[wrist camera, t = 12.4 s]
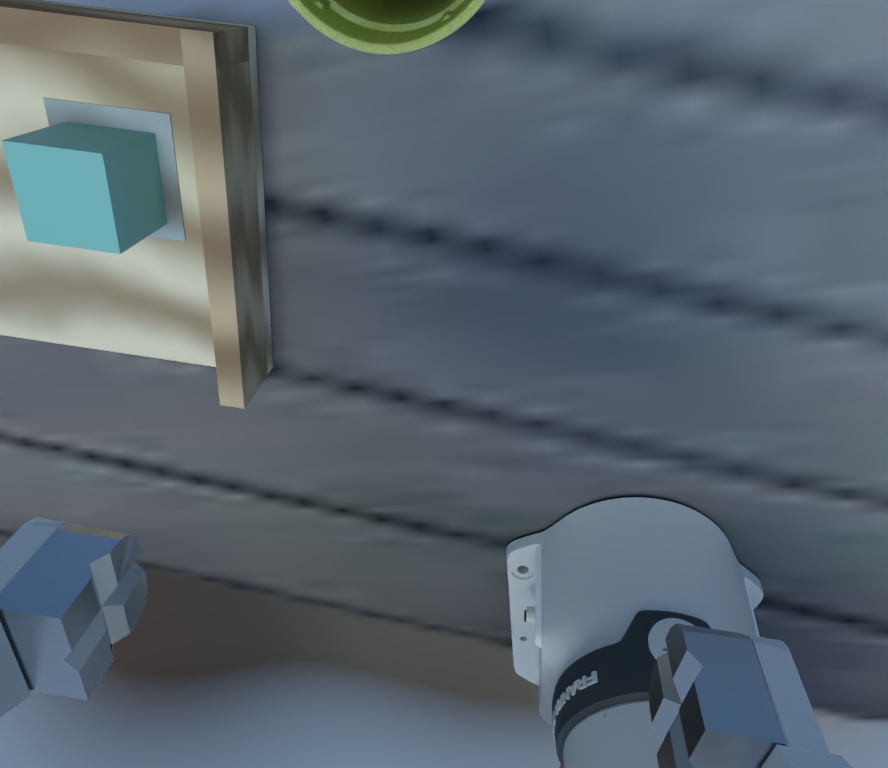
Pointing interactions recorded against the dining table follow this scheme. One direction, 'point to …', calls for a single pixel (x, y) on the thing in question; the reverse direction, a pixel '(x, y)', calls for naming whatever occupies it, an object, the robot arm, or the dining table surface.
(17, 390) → the dining table surface
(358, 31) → the plant pot
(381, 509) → the dining table surface
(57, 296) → the arena
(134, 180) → the cube
